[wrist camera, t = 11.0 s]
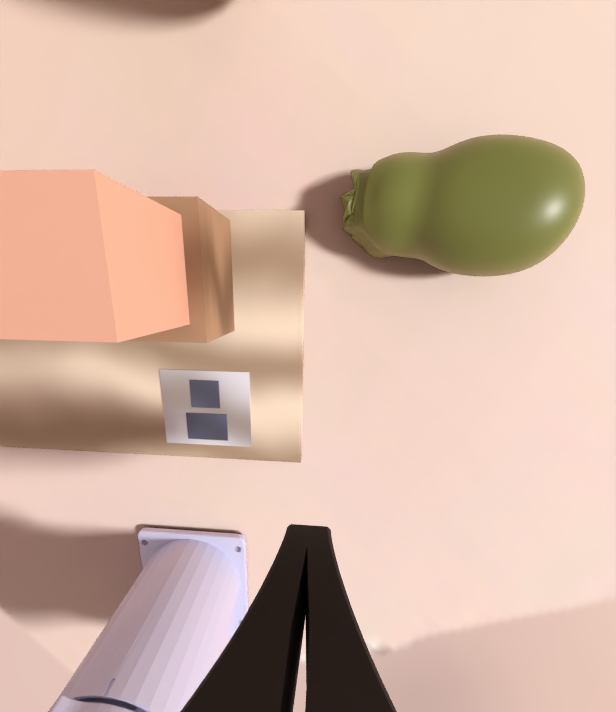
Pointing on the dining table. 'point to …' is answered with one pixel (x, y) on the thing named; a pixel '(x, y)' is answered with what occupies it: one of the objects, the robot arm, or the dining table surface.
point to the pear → (468, 205)
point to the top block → (87, 259)
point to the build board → (179, 370)
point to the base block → (202, 273)
